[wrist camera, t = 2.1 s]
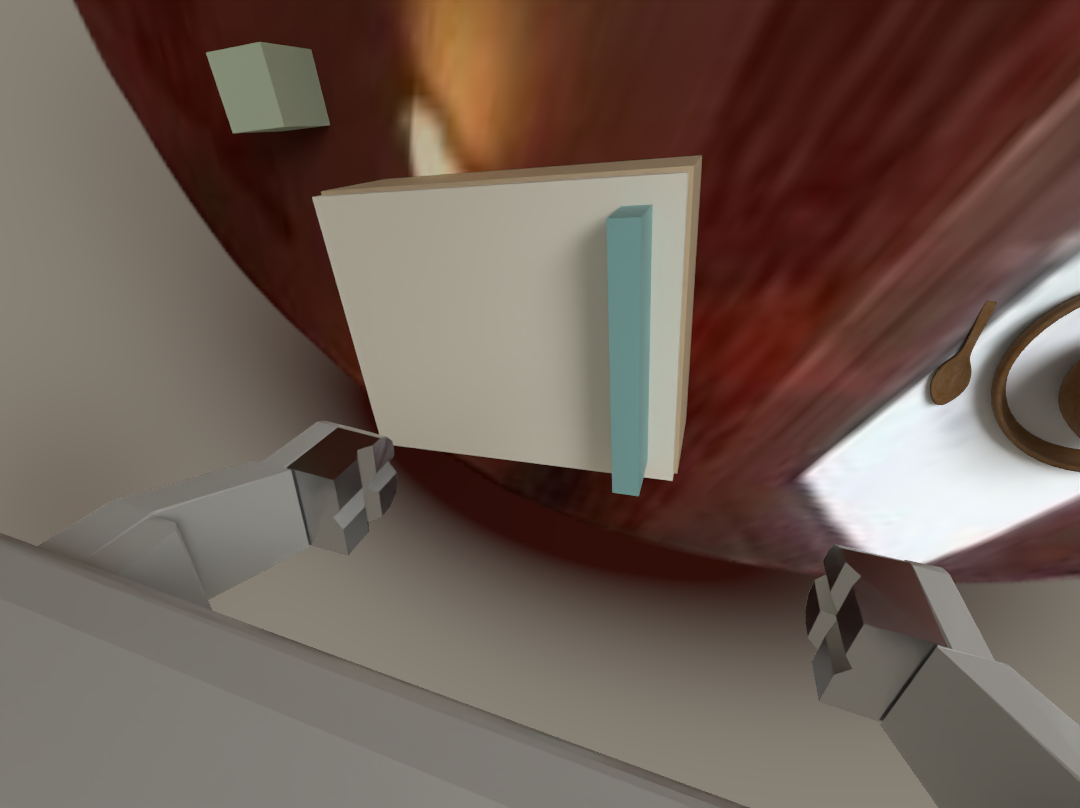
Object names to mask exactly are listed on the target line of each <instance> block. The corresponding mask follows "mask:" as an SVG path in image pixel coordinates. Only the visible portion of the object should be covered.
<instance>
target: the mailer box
mask: <svg viewBox="0 0 1080 808" xmlns="http://www.w3.org/2000/svg"><path fill="white" fill-rule="evenodd" d="M701 166H702V155H699V156H685V157H672V158H659V159H645V160H632V161H619V162H606V163H592V164H579V165H566V166H552V167H539V168H526V169H512V170H499V171H486V172H473V173H459V174H446V175H433V176H419V177H406V178H393V179H383V180H378V181H373V182H368V183H362V184H357V185H352V186H347V187H341V188H336V189H331V190H325V191H321V194H322V195H334V194H349V193H365V192H380V191H395V190H410V189H425V188H440V187H456V186H471V185H486V184H501V183H516V182H531V181H546V180H562V179H577V178H592V177H607V176H622V175H637V174H653V173H668V172H683V171H689V179H688V199H687V219H686V239H685V259H684V279H683V298H682V318H681V338H680V358H679V378H678V398H677V418H676V438H675V457H674V473H677V472H678V466H679V460H680V453H681V447H682V441H683V435H684V429H685V423H686V412H687V396H688V379H689V363H690V347H691V330H692V314H693V297H694V281H695V265H696V248H697V232H698V215H699V199H700V183H701Z"/></svg>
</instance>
